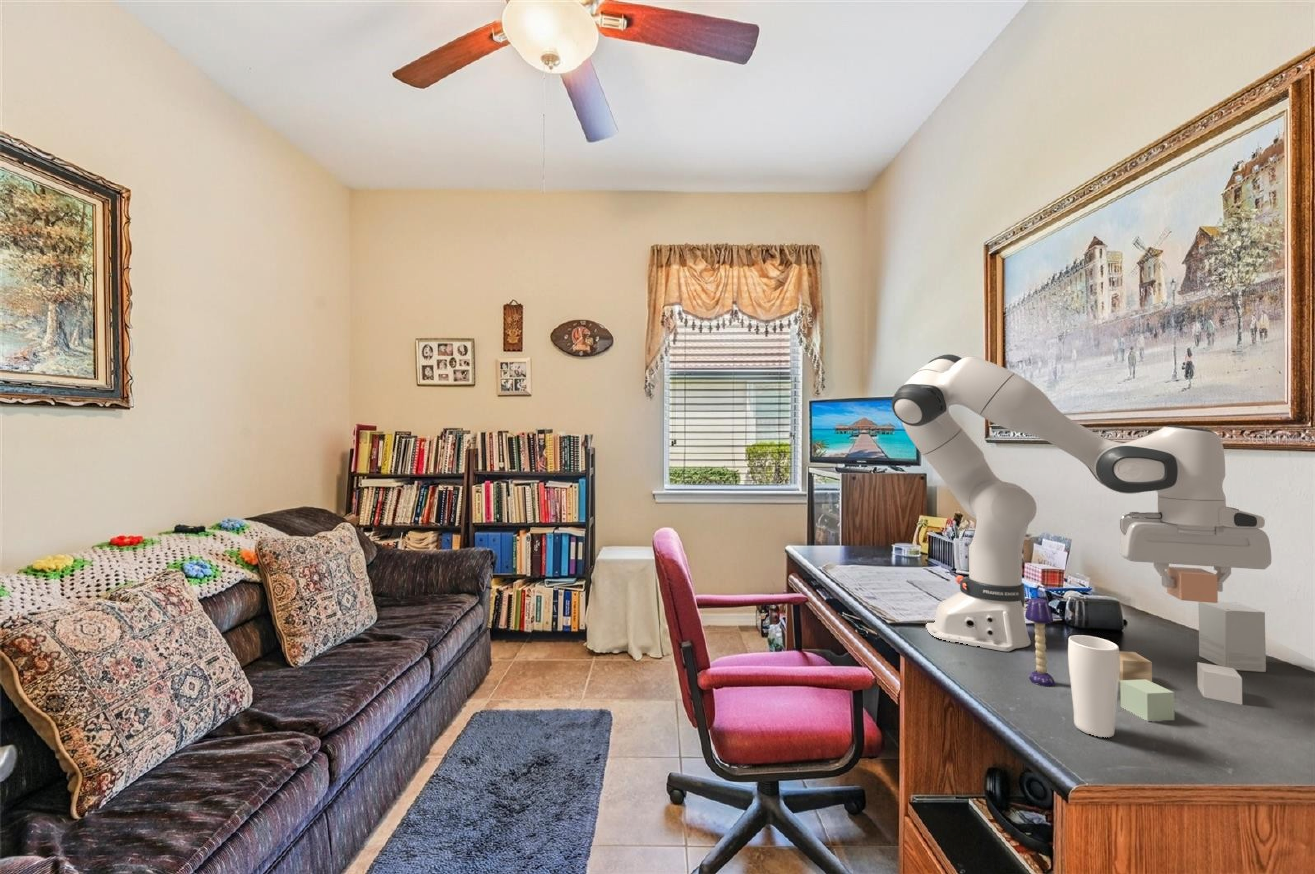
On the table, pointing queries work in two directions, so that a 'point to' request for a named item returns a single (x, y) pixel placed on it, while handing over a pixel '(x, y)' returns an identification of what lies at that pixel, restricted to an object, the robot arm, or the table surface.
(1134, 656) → the oak block
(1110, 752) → the table surface
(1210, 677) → the grey block
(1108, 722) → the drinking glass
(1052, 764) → the table surface
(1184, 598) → the terracotta block
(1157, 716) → the sage block
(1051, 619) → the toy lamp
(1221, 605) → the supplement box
